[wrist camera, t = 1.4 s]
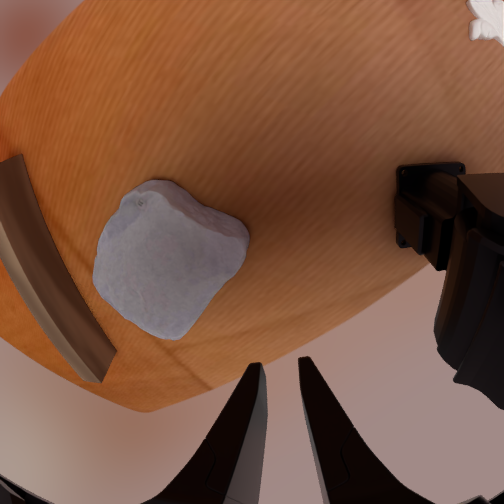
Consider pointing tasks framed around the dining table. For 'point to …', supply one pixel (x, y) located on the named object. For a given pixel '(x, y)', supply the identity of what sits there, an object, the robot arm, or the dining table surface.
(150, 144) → the dining table surface
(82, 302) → the board
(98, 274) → the stone block
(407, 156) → the dining table surface
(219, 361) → the dining table surface
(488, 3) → the acanthus leaf ornament
